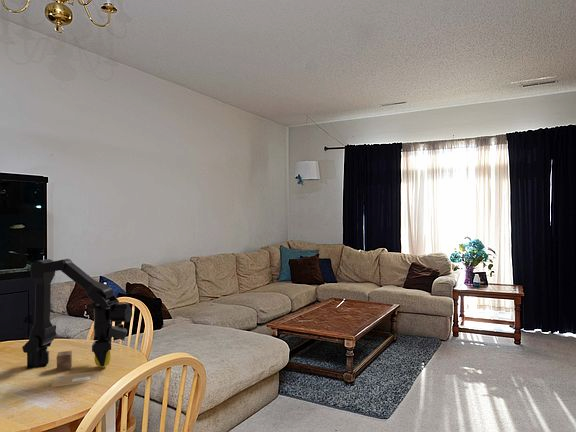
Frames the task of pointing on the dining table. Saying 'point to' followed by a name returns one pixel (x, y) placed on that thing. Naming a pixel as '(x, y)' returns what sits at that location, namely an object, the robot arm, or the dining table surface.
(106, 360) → the lemon
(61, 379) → the envelope
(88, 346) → the dining table surface
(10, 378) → the dining table surface
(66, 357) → the walnut block
